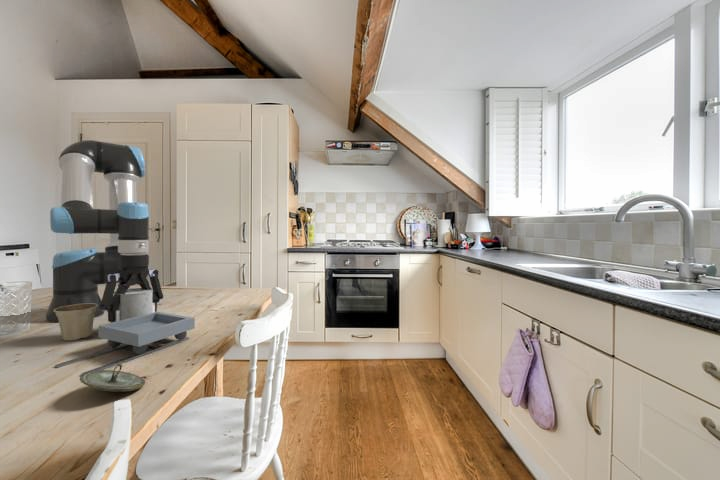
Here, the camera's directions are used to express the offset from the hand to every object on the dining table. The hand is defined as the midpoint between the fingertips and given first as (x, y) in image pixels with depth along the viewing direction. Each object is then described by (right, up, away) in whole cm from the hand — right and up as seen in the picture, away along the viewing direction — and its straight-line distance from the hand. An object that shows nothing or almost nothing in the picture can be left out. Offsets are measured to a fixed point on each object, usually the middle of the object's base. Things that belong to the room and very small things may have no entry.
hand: (134, 327), depth 95 cm
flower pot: (-12, -1, -6) cm, 14 cm away
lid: (+21, -3, -34) cm, 40 cm away
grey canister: (0, -1, 0) cm, 1 cm away
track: (+10, -2, -15) cm, 18 cm away
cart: (+12, -2, -11) cm, 16 cm away
